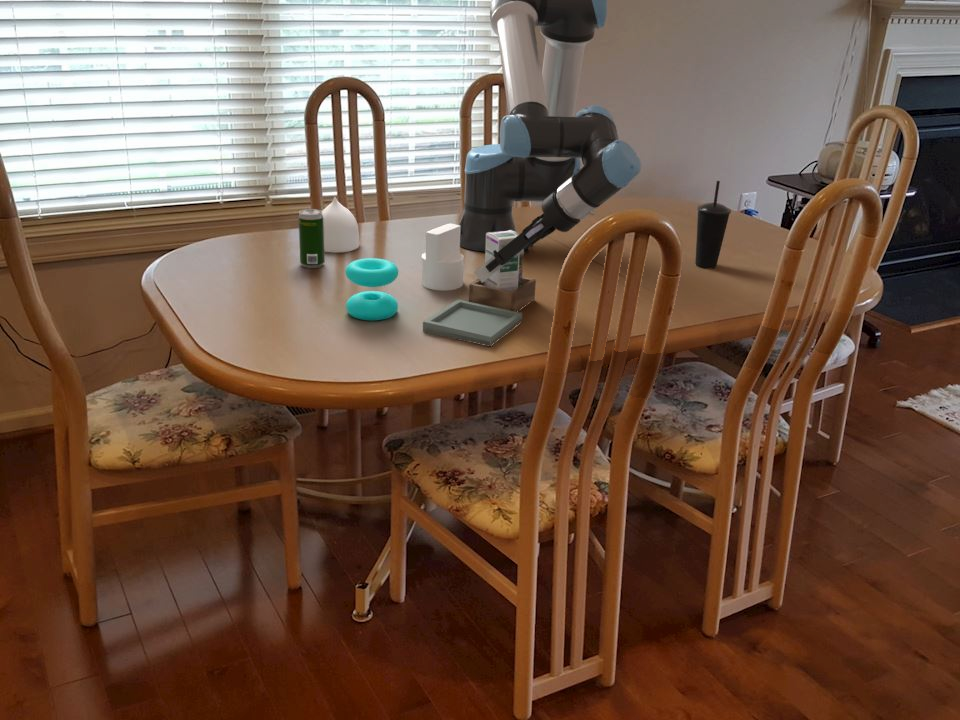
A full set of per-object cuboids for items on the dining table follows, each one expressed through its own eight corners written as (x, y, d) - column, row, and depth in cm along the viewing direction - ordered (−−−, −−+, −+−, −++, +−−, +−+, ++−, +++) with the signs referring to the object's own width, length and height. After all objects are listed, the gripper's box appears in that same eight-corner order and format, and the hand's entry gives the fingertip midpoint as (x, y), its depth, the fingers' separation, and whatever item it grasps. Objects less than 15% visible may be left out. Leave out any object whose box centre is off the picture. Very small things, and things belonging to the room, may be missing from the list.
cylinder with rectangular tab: (447, 293, 193) (449, 237, 188) (412, 284, 197) (413, 229, 192) (471, 282, 200) (473, 228, 195) (436, 273, 204) (437, 220, 199)
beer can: (326, 267, 205) (325, 214, 200) (302, 269, 203) (300, 215, 198) (322, 260, 209) (320, 208, 204) (298, 261, 208) (296, 209, 203)
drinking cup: (723, 272, 214) (736, 186, 206) (689, 268, 215) (701, 183, 207) (722, 262, 221) (734, 178, 213) (689, 259, 222) (700, 176, 214)
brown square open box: (468, 305, 187) (469, 284, 185) (490, 291, 195) (491, 270, 193) (514, 315, 183) (515, 293, 181) (534, 300, 191) (535, 279, 189)
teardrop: (346, 255, 214) (346, 204, 209) (303, 248, 217) (302, 198, 212) (367, 242, 223) (366, 193, 219) (325, 236, 227) (324, 188, 222)
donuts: (363, 253, 183) (407, 261, 179) (363, 301, 187) (407, 310, 183) (335, 266, 174) (381, 276, 171) (336, 316, 178) (381, 326, 175)
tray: (422, 331, 173) (423, 321, 172) (457, 308, 185) (457, 299, 184) (490, 347, 168) (490, 336, 167) (521, 322, 179) (522, 313, 179)
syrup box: (496, 309, 185) (500, 239, 180) (482, 299, 190) (485, 231, 184) (521, 305, 188) (525, 236, 182) (507, 296, 193) (510, 228, 187)
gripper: (560, 233, 167) (476, 301, 180) (599, 209, 184) (519, 272, 196) (535, 200, 167) (453, 270, 179) (576, 179, 184) (498, 244, 196)
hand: (488, 271), depth 188 cm, fingers closed on syrup box, 8 cm apart
